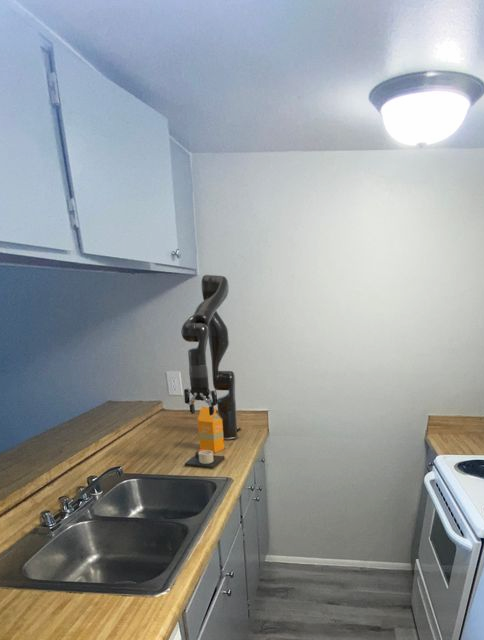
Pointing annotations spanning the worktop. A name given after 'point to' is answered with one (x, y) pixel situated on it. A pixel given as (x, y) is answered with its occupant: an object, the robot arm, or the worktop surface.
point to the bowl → (206, 457)
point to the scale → (195, 463)
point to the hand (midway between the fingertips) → (202, 414)
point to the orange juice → (210, 430)
